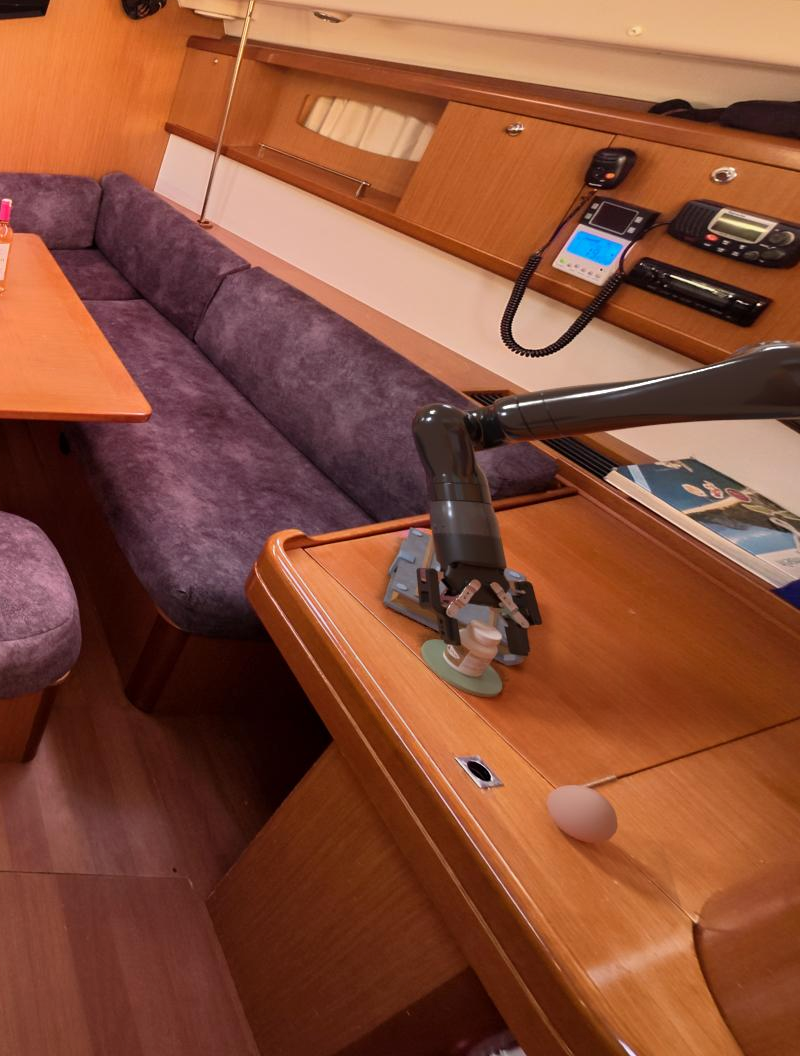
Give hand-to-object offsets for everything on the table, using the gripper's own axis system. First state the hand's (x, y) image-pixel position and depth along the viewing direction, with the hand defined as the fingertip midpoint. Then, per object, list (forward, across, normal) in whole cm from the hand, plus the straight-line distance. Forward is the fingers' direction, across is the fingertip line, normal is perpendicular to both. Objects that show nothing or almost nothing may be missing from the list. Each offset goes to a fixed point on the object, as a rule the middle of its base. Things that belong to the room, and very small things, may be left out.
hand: (485, 650), depth 89 cm
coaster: (+3, 0, +5) cm, 6 cm away
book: (-7, +8, +16) cm, 19 cm away
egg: (+19, -2, -10) cm, 21 cm away
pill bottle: (+3, 0, +5) cm, 6 cm away
